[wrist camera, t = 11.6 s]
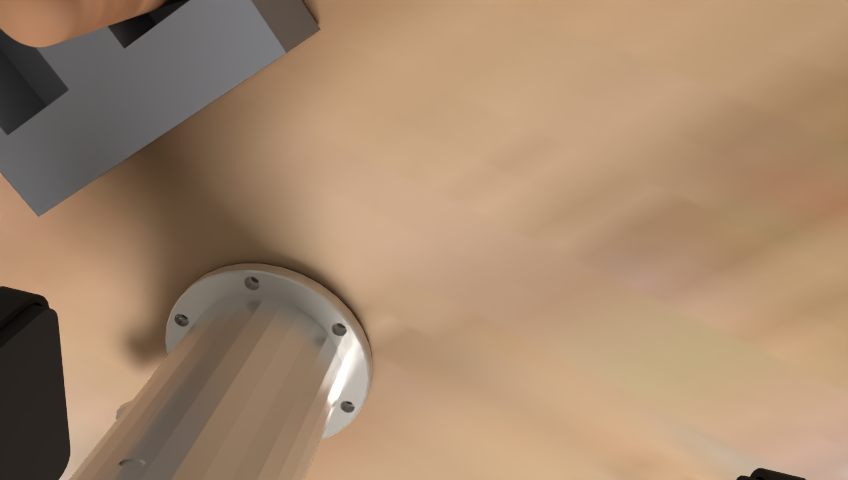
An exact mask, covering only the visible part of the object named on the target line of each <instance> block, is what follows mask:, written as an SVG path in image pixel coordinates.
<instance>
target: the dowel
mask: <svg viewBox="0 0 848 480" xmlns="http://www.w3.org/2000/svg"><path fill="white" fill-rule="evenodd" d="M179 1H182V0H0V28H1V29H2V30H3V31H4V32H5V33H6V34H7V35H9V36H10V37H11V38H13V39H14V40H16V41H18V42H20V43H22V44H25V45H28V46H32V47H47V46H51V45H54V44H57V43H59V42H62V41H65V40H68V39H71V38H74V37H77V36H80V35H83V34H86V33H89V32H92V31H95V30H98V29H100V28H103V27H106V26H109V25H112V24H115V23H118V22H121V21H124V20H127V19H130V18H133V17H136V16H138V15H141V14H144V13H147V12H150V11H153V10H156V9H159V8H162V7H165V6H168V5H171V4H174V3H176V2H179Z"/></svg>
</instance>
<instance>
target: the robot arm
mask: <svg viewBox="0 0 848 480" xmlns="http://www.w3.org/2000/svg"><path fill="white" fill-rule="evenodd" d="M165 344H166V351H167V358H166V359H165V360H164V362H163V363H162V364H161V365H160V367H159V368H158V369H157V370H156V372H155V373H154V374H153V375H152V377H151V378H150V379H149V380H148V382H147V383H146V384H145V385H144V387H143V388H142V389H141V390H140V392H139V393H138V394H137V395H136V397H135V398H134V399H133V400H132V401H130V402H128V403H125V404H123V405H121V407H120V408H119V409H118V410H117V415H116V419H117V420H116V422H115V423H114V424H113V425H112V427H111V428H110V429H109V430H108V432H107V433H106V434H105V435H104V437H103V438H102V439H101V440H100V442H99V443H98V444H97V445H96V447H95V448H94V449H93V450H92V452H91V453H90V454H89V455H88V457H87V458H86V459H85V460H84V462H83V463H82V464H81V465H80V467H79V468H78V469H77V470H76V472H75V473H74V474H73V476H72V477H71V478H70V479H69V480H304V479H305V477H306V475H307V472H308V470H309V467H310V465H311V463H312V460H313V458H314V455H315V453H316V451H317V448H318V446H319V443H320V441H321V440H323V439H326V438H328V437H330V436H332V435H334V434H336V433H338V432H340V431H341V430H342V429H344V428H345V427H346V426H347V425H348V424H350V423H351V422H352V421H353V420H354V418H355V417H356V416H357V414H358V413H359V412H360V410H361V409H362V407H363V404H364V402H365V399H366V397H367V395H368V392H369V388H370V384H371V381H372V366H373V361H372V356H371V351H370V346H369V343H368V341H367V338H366V336H365V334H364V331H363V329H362V327H361V326H360V324H359V323H358V321H357V320H356V318H355V317H354V315H353V314H352V312H351V311H350V310H349V309H348V308H347V307H346V306H345V305H344V304H343V303H342V301H341V300H340V299H339V298H338V297H337V296H335V295H334V294H333V293H331V292H330V291H329V290H327V289H326V288H325V287H323V286H322V285H321V284H319V283H317V282H315V281H314V280H312V279H310V278H308V277H306V276H304V275H302V274H300V273H297V272H294V271H291V270H288V269H285V268H283V267H278V266H272V265H267V264H261V263H241V264H236V265H230V266H225V267H221V268H219V269H216V270H214V271H211V272H209V273H207V274H205V275H203V276H202V277H201V278H199V279H198V280H196V281H195V282H194V283H192V284H191V285H190V287H189V288H188V289H187V290H186V291H185V292H184V293H183V294H182V295H181V296H180V298H179V299H178V301H177V302H176V304H175V305H174V307H173V308H172V310H171V313H170V316H169V319H168V321H167V324H166V335H165ZM69 457H70V440H69V429H68V419H67V408H66V398H65V387H64V377H63V366H62V356H61V345H60V335H59V324H58V317H57V313H56V312H55V310H53V309H50V308H49V305H48V301H47V300H46V299H45V297H43V296H41V295H38V294H33V293H29V292H25V291H21V290H17V289H13V288H8V287H4V286H2V287H0V480H59V478H60V477H61V476H62V474H63V473H64V471H65V469H66V467H67V464H68V461H69ZM737 480H806V479H805V478H801V477H796V476H792V475H788V474H784V473H780V472H776V471H771V470H767V469H763V468H758V469H756V470H755V471H753V473H752V474H751V476H750V477H747V476H740V477H738V478H737Z"/></svg>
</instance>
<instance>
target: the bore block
mask: <svg viewBox="0 0 848 480" xmlns="http://www.w3.org/2000/svg"><path fill="white" fill-rule="evenodd" d="M319 30H321V29H320V28H319V26H318V25H317V23H316V22H315V20H314V18H313V17H312V15H311V14H310V12H309V11H308V9H307V8H306V6H305V5H304V3H303V2H302V0H182V1H179V2H176V3H174V4H171V5H168V6H165V7H162V8H159V9H156V10H153V11H150V12H147V13H144V14H141V15H138V16H136V17H133V18H130V19H127V20H124V21H121V22H118V23H115V24H112V25H109V26H106V27H103V28H100V29H98V30H95V31H92V32H89V33H86V34H83V35H80V36H77V37H74V38H71V39H68V40H65V41H62V42H59V43H57V44H54V45H51V46H47V47H32V46H28V45H25V44H22V43H20V42H18V41H16V40H14V39H13V38H11V37H10V36H9V35H7V34H6V33H5V32H4V31H3V30H2V29H1V28H0V173H1V174H2V175H3V176H4V177H5V178H6V180H7V181H8V182H9V183H10V184H11V185H12V187H13V188H14V189H15V190H16V191H17V192H18V194H19V195H20V196H21V197H22V198H23V199H24V201H25V202H26V203H27V204H28V205H29V206H30V208H31V209H32V210H33V211H34V212H35V213H36V215H37V216H38V217H39V216H41V215H42V214H44V213H45V212H47V211H48V210H50V209H51V208H53V207H54V206H56V205H57V204H59V203H60V202H62V201H63V200H65V199H66V198H68V197H69V196H71V195H72V194H74V193H75V192H77V191H78V190H80V189H81V188H83V187H84V186H86V185H87V184H89V183H90V182H92V181H93V180H95V179H96V178H98V177H99V176H101V175H102V174H104V173H105V172H107V171H109V170H110V169H112V168H113V167H115V166H116V165H118V164H119V163H121V162H122V161H124V160H125V159H127V158H128V157H130V156H131V155H133V154H134V153H136V152H137V151H139V150H140V149H142V148H143V147H145V146H146V145H148V144H149V143H151V142H152V141H154V140H155V139H157V138H158V137H160V136H161V135H163V134H164V133H166V132H167V131H169V130H170V129H172V128H173V127H175V126H176V125H178V124H179V123H181V122H182V121H184V120H186V119H187V118H189V117H190V116H192V115H193V114H195V113H196V112H198V111H199V110H201V109H202V108H204V107H205V106H207V105H208V104H210V103H211V102H213V101H214V100H216V99H217V98H219V97H220V96H222V95H223V94H225V93H226V92H228V91H229V90H231V89H232V88H234V87H235V86H237V85H238V84H240V83H241V82H243V81H244V80H246V79H247V78H249V77H250V76H252V75H253V74H255V73H256V72H258V71H259V70H261V69H262V68H264V67H266V66H267V65H269V64H270V63H272V62H273V61H275V60H276V59H278V58H279V57H281V56H282V55H284V54H285V53H287V52H288V51H290V50H291V49H293V48H294V47H295V46H297V45H298V44H300V43H301V42H303V41H304V40H306V39H307V38H309V37H310V36H312V35H313V34H315V33H316V32H318V31H319Z"/></svg>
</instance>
